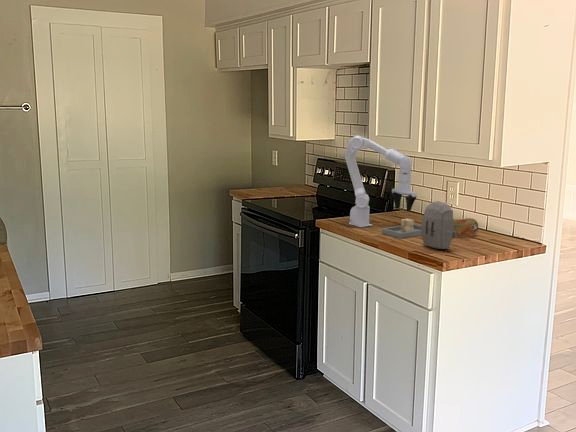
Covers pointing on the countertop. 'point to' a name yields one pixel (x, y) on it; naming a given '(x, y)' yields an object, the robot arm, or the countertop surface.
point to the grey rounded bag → (437, 225)
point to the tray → (398, 234)
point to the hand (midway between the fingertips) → (403, 209)
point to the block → (407, 225)
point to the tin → (464, 227)
